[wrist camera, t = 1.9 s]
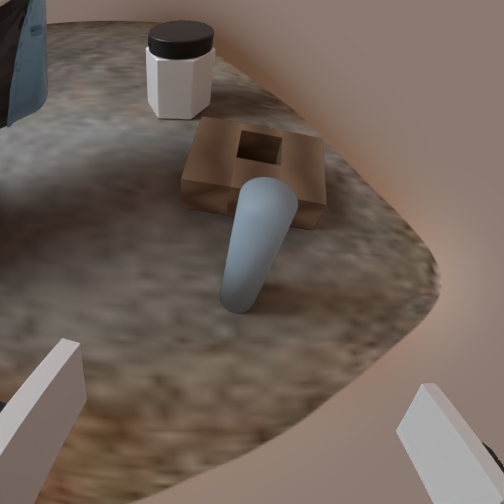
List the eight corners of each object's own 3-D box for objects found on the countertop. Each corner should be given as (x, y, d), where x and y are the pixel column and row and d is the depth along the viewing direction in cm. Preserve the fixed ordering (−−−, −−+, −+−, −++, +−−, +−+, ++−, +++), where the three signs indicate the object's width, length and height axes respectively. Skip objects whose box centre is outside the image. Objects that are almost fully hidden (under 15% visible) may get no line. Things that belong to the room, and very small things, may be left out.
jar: (175, 83, 45) (178, 15, 34) (219, 99, 44) (228, 27, 33) (136, 110, 40) (131, 35, 30) (182, 129, 39) (184, 47, 29)
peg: (217, 310, 28) (235, 217, 16) (222, 277, 30) (242, 172, 18) (253, 315, 29) (297, 228, 17) (256, 283, 30) (298, 183, 18)
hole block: (181, 207, 33) (180, 178, 29) (200, 144, 38) (202, 116, 34) (312, 230, 34) (326, 204, 30) (311, 165, 39) (322, 139, 35)
